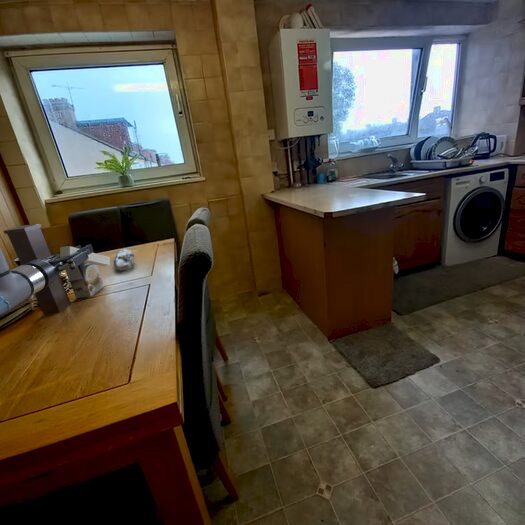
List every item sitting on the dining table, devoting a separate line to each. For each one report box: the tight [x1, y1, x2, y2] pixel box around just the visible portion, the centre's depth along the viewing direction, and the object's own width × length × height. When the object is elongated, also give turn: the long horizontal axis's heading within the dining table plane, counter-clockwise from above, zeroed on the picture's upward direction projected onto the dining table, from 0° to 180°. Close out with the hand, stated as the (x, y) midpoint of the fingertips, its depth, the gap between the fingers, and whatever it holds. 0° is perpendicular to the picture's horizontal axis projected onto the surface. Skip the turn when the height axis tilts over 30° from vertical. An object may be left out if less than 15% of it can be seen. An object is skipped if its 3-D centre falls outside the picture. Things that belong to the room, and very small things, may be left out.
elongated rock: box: [113, 248, 135, 271], centre depth 143 cm, size 35×5×10 cm
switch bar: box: [59, 245, 111, 267], centre depth 93 cm, size 3×20×3 cm, turn 0°
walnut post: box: [2, 223, 72, 315], centre depth 94 cm, size 7×7×30 cm
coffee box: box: [64, 262, 105, 299], centre depth 107 cm, size 9×6×16 cm
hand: (85, 248), depth 93 cm, fingers closed on switch bar, 3 cm apart
